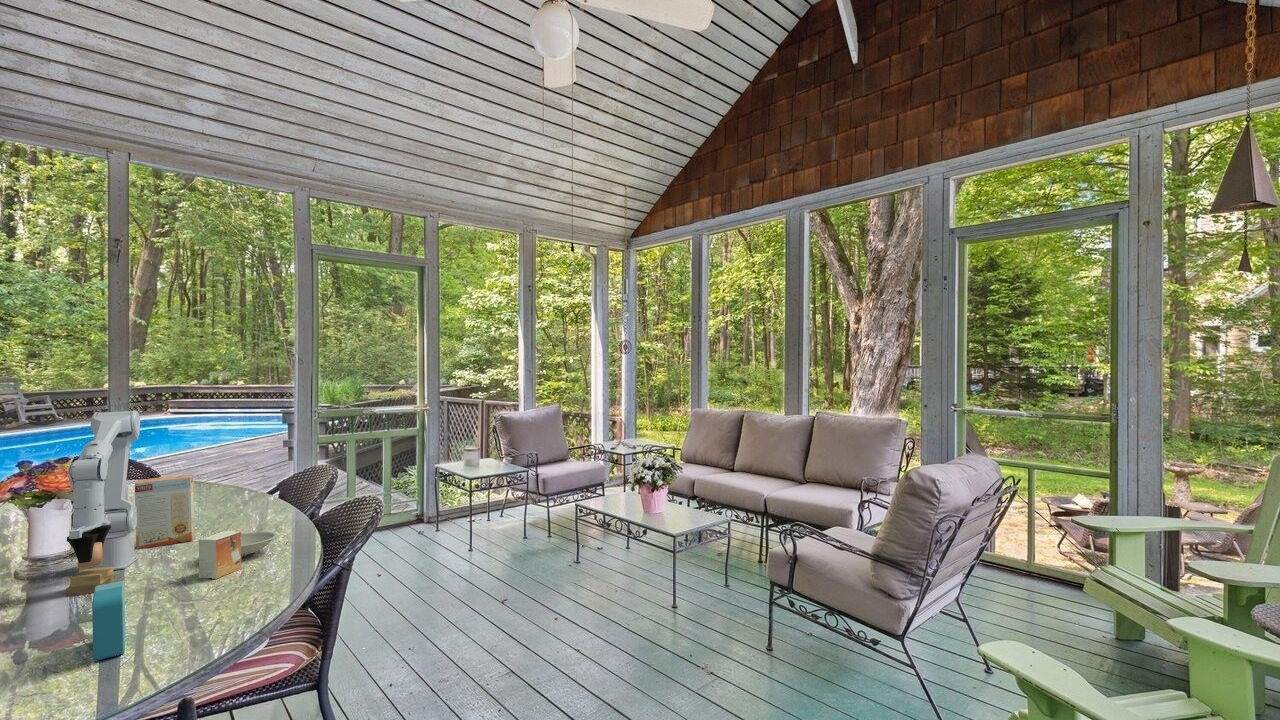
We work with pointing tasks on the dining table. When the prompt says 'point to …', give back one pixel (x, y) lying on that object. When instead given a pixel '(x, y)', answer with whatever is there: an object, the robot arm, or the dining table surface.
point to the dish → (255, 541)
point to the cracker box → (164, 510)
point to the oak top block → (92, 576)
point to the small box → (219, 554)
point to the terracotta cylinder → (94, 556)
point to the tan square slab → (86, 588)
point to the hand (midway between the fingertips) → (90, 558)
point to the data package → (108, 620)
